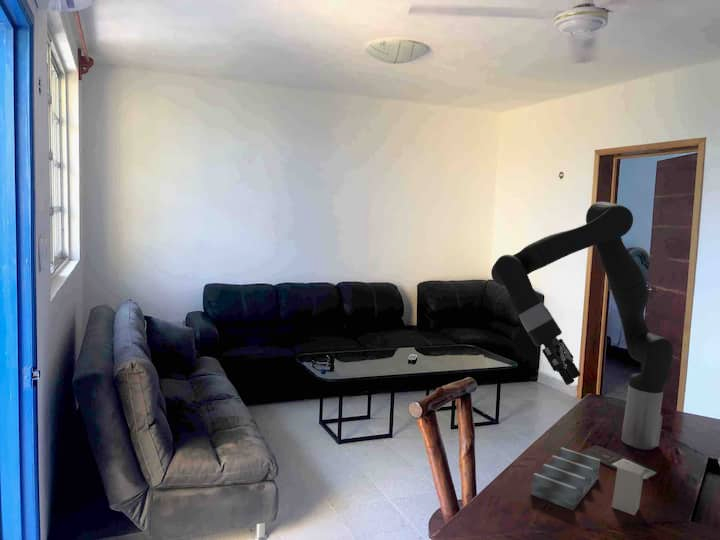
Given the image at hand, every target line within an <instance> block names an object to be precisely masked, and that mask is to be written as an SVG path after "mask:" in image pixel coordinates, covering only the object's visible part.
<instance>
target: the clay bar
mask: <svg viewBox="0 0 720 540" xmlns="http://www.w3.org/2000/svg"><path fill="white" fill-rule="evenodd" d="M643 476H644V468H641V467H638V466H635V465H632V464H628V463H625V462H621V463H620V464H619V466H618V467H617V471H616V475H615V481H614V489H613V497H612V504H611V508H612V509H616V510H619V511H621V512H624V513H627V514H630V515H632V516H636V514H637V512H638V510H640V502H641V495H642V489H643V482H644V481H643Z"/></svg>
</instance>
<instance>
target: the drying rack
mask: <svg viewBox="0 0 720 540" xmlns="http://www.w3.org/2000/svg"><path fill="white" fill-rule="evenodd" d="M550 461H551V463H550V464H547V463H544V464H543V465H542V468H541V469H542V471H541V474H539V473H537V472H534V473H533V474H532V484H531V490H530V492H531V493H530V495H532V496H534V497H537V498H539V499H542V500H545V501H547V502H550V503H553V504H554V505H557V506H560V507H563V508H565V509H568V510H570V511H574V510H575V508H577V506H578V504H579V503H580V502H581V501H582V500H581V499H583V498H584V497H585V496H586V495H587V494H588V493H589V491H590V490H591V488H592V487H593V486H594V485H595V483H596V482H597V481H598V480H599V473H600V468H601V464H600V461H601V460H600V459H597V458H594V457H591V456H588V455H584V454H581V453H579V452H578V451H575V450H571V449H568V448H565V447H560V449H559V456H557V455H552V456H551V460H550ZM596 480H597V481H596Z"/></svg>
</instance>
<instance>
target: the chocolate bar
mask: <svg viewBox="0 0 720 540" xmlns="http://www.w3.org/2000/svg"><path fill="white" fill-rule="evenodd" d="M578 453H581V454H584V455H588V456H591V457H594V458H597V459H600V460H601V461H600V463H601V464H600V465H602V464H603V466H605V465H606V466H605V467H607V466H608V467H607V468H609V467H610V468H609V469H611V468H612V470H614V469H615V470H614V471H616V470H617V467H618V466H619V464H620V463H621V462H625V463H628V464H632V465H635V466H638V467H641V468H644V476H643V482H644V481H646V480H648V479H650V478H651V476H652V477H653V475H654V476H655V474H656V475H657V473H658V474H659V472H660V471H659V470H657V469H655V468H652V467H650V466H648V465H645V464H644V463H642V462H641V463H640V462H638V461H636V460H634V459H631V458H629V457H627V456H624V455H621V454H619V453H617V452H614V451H612V450H609V449H607V448H604V447H602V446H600V445H598V444H595V445H593V446H590V447H589V448H585V449H583V450H582V451H581V450H580V451H579V452H578ZM649 477H650V478H649ZM645 479H646V480H645Z"/></svg>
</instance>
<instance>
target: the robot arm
mask: <svg viewBox="0 0 720 540" xmlns="http://www.w3.org/2000/svg"><path fill="white" fill-rule="evenodd" d="M585 222H586V223H585V224H583V225H580V226H578V227H576V228H572V229H567V230H565V231H560V232H556V233H554V234H550V235H547V236H544V237H543V238H541V239H538V240H536V241H533V242H532V243H529V244H528V245H526V246H525V247H523V249H521V250H520V251H519V252H517V253H515V254H513V255H512V254H504V255H502V256H500V257H499V258H497V260H496V262H495V263H494V264H493V266H492V268H491V271H490V273H491V279H492V280H493V281H494V282H495V283H496V284H497V285H500V286H504V288H505V289H506V291H507V293H508V295H509V296H508V297H509V301H510V302H509V303H510V304H511V305H512V307H513V310H514V311H515V313H516V314H517V316H518V318H519V320H520V322H521V325H522V326H523V327H524V329H525V331H526V332H527V335H528V336H529V337H530V340H531V341H532V342H533V344H534V345H535V347H540V346H542V345H543V346H544V348H543V349H541V351H542V353H543V355H544V356H545V358H546V360H547V363H549V365H550V367H551V368H552V370H553V371H554V372H557V373H559V375H560V377H561V379H562V380H563V382H564V383H565V385H566V386H569V385H572V384H573V383H574V382H575V379H576V378H579V377H580V376H581V372H580V370H579V369H578V367H577V366H576V364H575V363H574V355H573V354H572V353H571V350H569V347H568V346H567V345H566V344H565V341H564V340H563V339H562V338H559V339H558V337H559V336H560V335H562V334H563V333H562V332H563V331H562V329H561V328H560V326H559V325H558V323H557V322H556V319H554V317H553V315H552V314H551V312H550V310H549V309H548V308H547V307H546V305H545V304H544V302H543V301H542V300H541V298H540V296H539V294H537V292H536V291H535V289H534V287H533V285H532V282H531V279H530V278H529V274H531V273H532V272H535V271H537V270H540V269H542V268H545V267H546V266H549V265H551V264H553V263H554V262H557V261H558V260H561V259H563V258H566V257H567V256H570V255H572V254H575V253H577V252H579V251H582V250H584V249H587V248H590V247H592V246H596V249H597V251H598V254H599V257H600V259H601V264H602V266H603V269H604V272H605V276H606V277H607V281H608V285H609V288H610V292H611V294H612V297H613V300H614V302H615V305H616V307H617V311H618V315H619V318H620V322H621V325H622V330H623V334H624V339H625V345H626V349H627V352H628V355H629V356H630V357H631V358H632V359H633V360H634V361H636V362H639V363H641V364H642V365H643V369H642V373H633V374H631V375H630V376H629V381H628V388H627V393H626V395H627V396H626V403H625V409H624V417H623V422H622V423H623V425H622V431H621V439H620V440H621V442H623V443H624V444H626V445H627V446H630V447H632V448H636V449H639V450H648V451H649V450H653V449H655V448H657V447H659V445H660V437H661V432H662V431H661V430H662V425H663V423H662V422H663V415H662V414H661V411H662V409H661V408H662V405H663V404H662V402H663V396H664V390H665V389H664V388H665V386H666V384H667V382H668V380H669V377H670V372H671V367H672V361H673V357H674V346H673V344H672V342H671V340H670V339H668V338H666V337H663V336H660V335H658V334H655V333H652V332H651V331H650V329H649V328H648V325H647V322H646V320H645V315H644V314H645V310H646V306H647V304H648V301H649V298H650V297H649V289H648V285H647V282H646V279H645V275H644V273H643V271H642V269H641V267H640V266H639V264H638V263H637V261H636V260H635V259H634V258H633V256H632V255H631V253H630V251H629V250H628V249H627V247H626V246H625V243H624V242H623V239H622V237H623V236H625V235H626V234H628V233H629V231H630V230H631V229H632V227H633V224H634V216H633V213H632V212H631V210H630V209H629V208H628V207H626V206H624V205H621V204H618V203H613V202H610V201H609V202H608V201H597V202H594V203H593V204H591V205H590V206H589V208H588V209H587V212H586V215H585Z"/></svg>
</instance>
